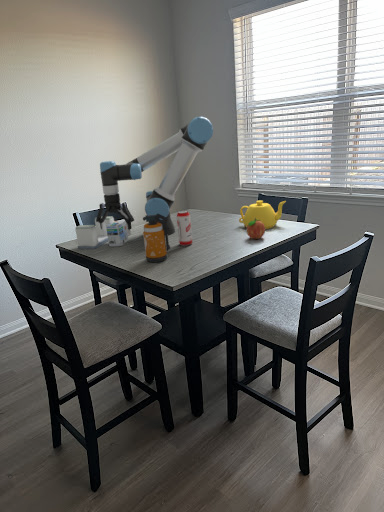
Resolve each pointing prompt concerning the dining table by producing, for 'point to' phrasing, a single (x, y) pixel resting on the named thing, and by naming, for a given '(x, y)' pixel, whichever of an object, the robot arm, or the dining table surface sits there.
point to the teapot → (261, 214)
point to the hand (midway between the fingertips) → (116, 235)
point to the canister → (155, 238)
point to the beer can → (184, 228)
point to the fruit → (255, 229)
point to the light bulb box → (117, 233)
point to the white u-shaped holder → (92, 234)
